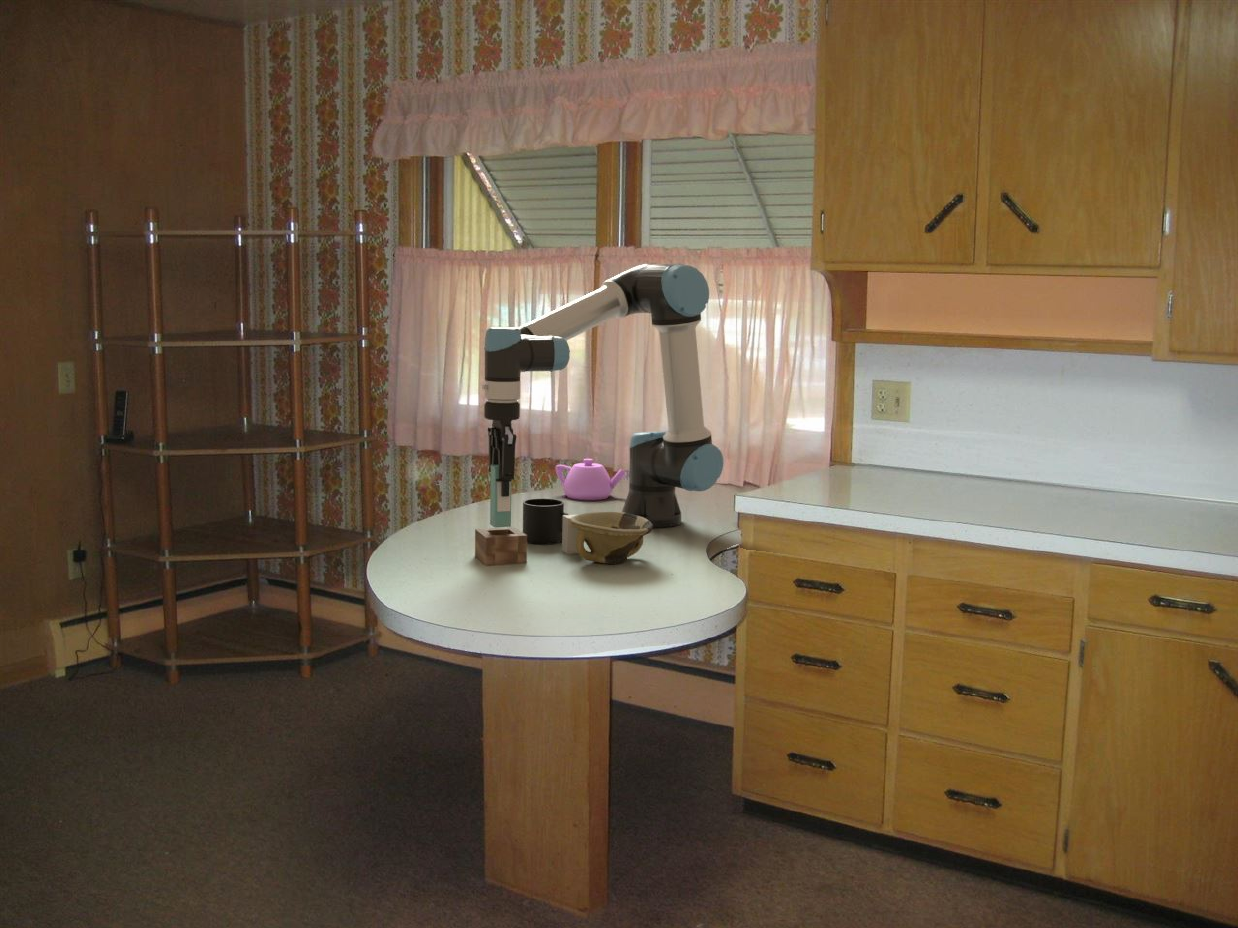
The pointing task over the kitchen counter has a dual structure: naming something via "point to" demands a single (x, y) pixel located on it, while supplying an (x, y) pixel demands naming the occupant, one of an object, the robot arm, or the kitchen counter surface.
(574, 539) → the peg mid
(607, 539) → the bowl
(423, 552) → the kitchen counter surface
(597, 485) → the teapot
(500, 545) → the socket block
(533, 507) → the mug
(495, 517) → the peg long
